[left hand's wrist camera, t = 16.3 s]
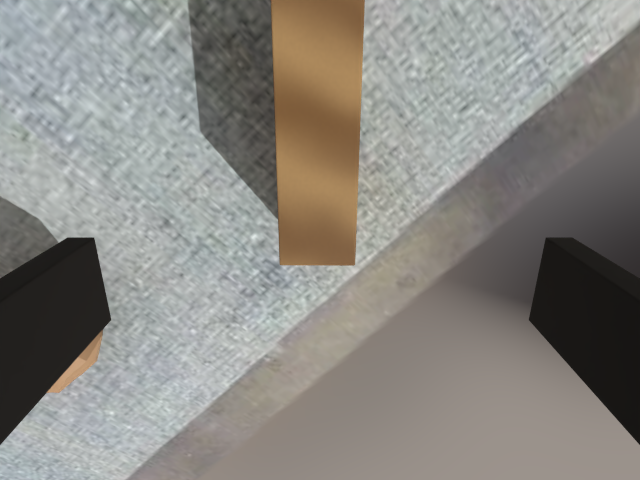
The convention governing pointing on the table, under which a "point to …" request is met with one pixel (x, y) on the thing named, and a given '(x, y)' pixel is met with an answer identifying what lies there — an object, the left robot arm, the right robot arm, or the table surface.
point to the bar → (317, 127)
